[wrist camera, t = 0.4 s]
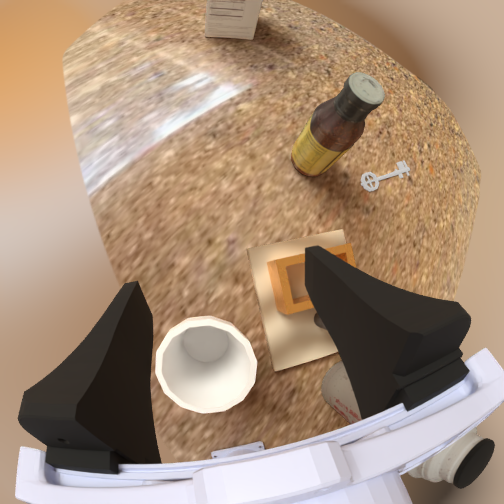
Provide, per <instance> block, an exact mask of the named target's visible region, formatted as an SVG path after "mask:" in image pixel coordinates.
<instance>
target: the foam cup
mask: <svg viewBox="0 0 504 504" xmlns="http://www.w3.org/2000/svg"><path fill="white" fill-rule="evenodd" d="M256 369H257V360H256V358H255V355H254V352H253V350H252V347H251V344H250V342H249V340H248V339H247V337H246V336H245V335H243V334H242V333H241V332H240V331H239V330H238V329H237V328H236V327H235V326H234V325H233V324H232V323H231V322H228V321H225V320H222V319H219V318H216V317H213V316H202V317H192V318H188V319H186V320H184V321H183V322H181V323H180V324H178V325H176V326H175V327H173V328H171V329H170V331H169V332H168V333H167V335H166V337H165V338H164V340H163V342H162V343H161V345H160V347H159V348H158V350H157V352H156V372H155V373H156V375H157V378H158V380H159V382H160V384H161V387H162V389H163V391H164V393H165V394H166V395H168V396H169V397H170V398H171V399H172V400H173V401H175V402H176V403H177V404H178V405H179V406H181V407H183V408H186V409H189V410H192V411H196V412H199V413H212V412H221V411H226V410H227V409H229V408H231V407H232V406H234V405H236V404H238V403H239V402H241V401H243V400H244V398H245V397H246V395H247V394H248V392H249V391H250V389H251V388H252V386H253V385H254V383H255V377H256Z"/></svg>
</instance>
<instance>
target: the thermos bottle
mask: <svg viewBox="0 0 504 504" xmlns="http://www.w3.org/2000/svg"><path fill="white" fill-rule="evenodd" d="M322 395H323V397H324V399H325V400H326V402H327V403H328V404H329V405H331V406H332V407H333V408H334V409H335V410H336V411H337V412H338V413H339V414H340V415H341V416H342V417H343V418H345V419H346V420H347V421H348V422H349V423H350V424H354V423H356V422H359V421H361V420H362V418H361V415H360V411H359V408H358V404H357V401H356V398H355V395H354V392H353V389H352V386H351V383H350V380H349V378H348V375H347V372H346V370H345V367H344V364H343V362H342V361H341V362H338V363H337V364H335V365H334V366H333V367H331V368H330V369H329V371H328V372H327V373H326V375H325V377H324V379H323V382H322ZM494 446H495V444H494V442H493V440H490V439H488V438H486V439H483V438H482V437H481V436H479V435H477V428H476V427H475V428H473V429H472V430H471V431H469V432H468V433H467V434H465V435H464V436H463V437H461V438H460V439H458V440H457V441H456V442H454V443H453V444H451V445H450V446H448V447H447V448H445V449H444V450H442V451H441V452H439V453H438V454H436V455H435V456H433V457H432V458H430V459H428V460H427V461H425V462H423V463H422V464H420V465H418V466H417V467H415V468H413V469H411V470H410V471H408V472H407V473H408V474H409V475H410V476H412V477H414V478H421V477H423V478H424V479H426V480H429V481H431V482H438V481H441V480H443V479H445V480H446V481H448V482H449V483H453V484H454V485H455V486H456V487H458V488H460V489H461V488H464V487H466V486H468V485H470V484H471V483H472V482H473V481H474V480H475V479H476V478H477V477H478V476H479V475H480V474H481V473H482V471H483V470H484V468H485V467H486V465H487V464H488V462H489V461H490V458H491V456H492V454H493V451H494Z"/></svg>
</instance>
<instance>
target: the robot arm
mask: <svg viewBox="0 0 504 504" xmlns="http://www.w3.org/2000/svg"><path fill="white" fill-rule="evenodd" d="M305 287H306V290H307V292H308V295H309V297H310V300H311V302H312V304H313V306H314V308H315V310H316V311H317V313H318V315H319V317H320V319H321V320H322V322H323V324H324V326H325V327H326V329H327V331H328V333H329V334H330V336H331V338H332V340H333V342H334V344H335V346H336V348H337V350H338V352H339V355H340V357H341V359H342V362H343V364H344V367H345V370H346V372H347V375H348V378H349V380H350V383H351V386H352V389H353V392H354V395H355V398H356V401H357V404H358V408H359V411H360V415H361V418H362V420H361V421H359V422H356V423H354V424H351V425H348V426H346V427H343V428H340V429H337V430H334V431H331V432H328V433H325V434H322V435H319V436H316V437H313V438H309V439H306V440H302V441H299V442H295V443H291V444H288V445H284V446H280V447H275V448H271V449H267V450H265V448H264V445H263V442H262V441H258V442H254V443H250V444H246V445H241V446H237V447H232V448H227V449H222V450H217V451H213V452H212V453H211V455H212V458H213V459H210V460H202V461H192V462H181V463H168V464H162V463H161V458H160V454H159V450H158V445H157V440H156V434H155V428H154V421H153V412H152V403H151V390H150V377H151V361H152V348H153V316H152V313H151V311H150V309H149V306H148V304H147V302H146V300H145V297H144V295H143V292H142V290H141V288H140V285H139V283H138V281H135V282H130V283H125V284H124V285H123V287H122V288H121V289H120V291H119V292H118V294H117V295H116V297H115V298H114V299H113V301H112V302H111V304H110V305H109V307H108V308H107V310H106V311H105V313H104V314H103V316H102V317H101V318H100V320H99V321H98V322H97V324H96V325H95V326H94V328H93V329H92V330H91V332H90V333H89V334H88V335H87V337H86V338H85V339H84V340H83V342H81V344H80V345H79V346H78V347H77V348H76V349H75V350H74V351H73V352H72V353H71V354H70V355H69V356H68V357H67V358H66V359H65V360H64V361H63V362H62V363H61V364H60V365H59V366H58V367H57V368H56V369H55V370H53V371H52V372H51V373H50V374H49V375H47V376H46V377H45V378H43V379H42V380H41V381H39V382H38V383H37V384H35V385H34V386H32V387H31V388H30V389H28V390H26V391H25V392H24V395H23V399H22V402H21V407H20V411H19V415H18V421H19V423H20V425H21V426H22V427H23V428H24V429H25V430H26V431H27V432H28V433H30V434H31V435H33V436H34V437H35V438H37V439H38V440H39V441H41V442H42V443H44V444H45V445H47V451H46V452H45V451H42V450H39V449H34V448H28V447H24V446H21V447H20V453H19V461H18V468H17V479H16V493H15V497H16V498H17V499H19V500H21V501H23V502H26V503H28V504H412V501H411V499H410V497H409V495H408V492H407V490H406V488H405V486H404V483H403V482H402V479H401V477H400V475H402V474H404V473H406V472H408V471H410V470H411V469H413V468H415V467H417V466H418V465H420V464H422V463H423V462H425V461H427V460H428V459H430V458H432V457H433V456H435V455H436V454H438V453H439V452H441V451H442V450H444V449H445V448H447V447H448V446H450V445H451V444H453V443H454V442H456V441H457V440H458V439H460V438H461V437H463V436H464V435H465V434H467V433H468V432H469V431H471V430H472V429H473V428H475V427H476V426H477V425H478V424H480V423H481V422H482V421H484V420H485V419H486V418H487V417H488V416H489V415H490V414H491V413H492V412H493V411H494V410H496V409H497V408H498V407H499V405H501V404H502V403H503V402H504V370H503V369H502V367H501V366H500V365H499V363H498V362H497V361H496V359H495V358H494V357H493V355H492V354H491V353H490V352H489V350H488V349H487V348H483V349H482V350H480V351H479V352H478V353H476V354H474V355H473V356H471V357H470V358H469V359H468V360H466V361H465V363H464V362H463V361H462V359H461V357H462V355H463V353H462V352H461V350H460V349H459V346H460V345H461V343H462V341H463V339H464V338H465V336H466V334H467V332H468V330H469V328H470V324H471V317H470V315H469V314H468V313H467V312H466V311H465V310H464V309H463V308H462V307H461V305H460V304H459V303H458V302H454V301H448V300H441V299H436V298H431V297H427V296H423V295H419V294H416V293H412V292H409V291H406V290H403V289H400V288H397V287H395V286H392V285H390V284H388V283H385V282H383V281H381V280H378V279H376V278H374V277H372V276H370V275H368V274H366V273H364V272H362V271H361V270H359V269H357V268H355V267H354V266H352V265H350V264H348V263H347V262H345V261H343V260H342V259H340V258H339V257H337V256H335V255H334V254H332V253H330V252H329V251H327V250H326V249H324V248H322V247H320V246H319V245H316V246H311V247H306V248H305ZM259 446H262V447H259ZM214 456H217V457H214Z"/></svg>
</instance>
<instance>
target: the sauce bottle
mask: <svg viewBox="0 0 504 504" xmlns="http://www.w3.org/2000/svg"><path fill="white" fill-rule="evenodd" d="M384 95H385V94H384V91H383V88H382V86H381V85H380V84H379V83H378V81H376V80H375V79H374V78H372V77H371V76H369V75H367V74H365V73H361V72H357V73H353V74H352V75H350V76H349V78H348V79H347V80H346V81H345V83H344V88H343V89H342V90H341V92H340V93H339V94H338V95H337V96H336V97H334V98H332V99H330V100H328V101H326V102H324V103H322V104H320V105H319V106H318V107H317V108H316V109H315V111H314V112H313V114H312V116H311V117H310V119H309V120H308V122H307V123H306V125H305V127H304V129H303V130H302V132H301V133H300V135H299V137H298V138H297V140H296V142H295V143H294V145H293V148H292V153H291V160H292V163H293V164H294V166H295V168H296V169H297V170H298V171H299V172H300V173H301V174H304V175H307V176H319V175H321V174H322V173H324V172H326V171H327V170H328V169H329V168H330V167H331V166H332V165H333V164H334V163H335V162H336V161H338V160H339V159H340V158H341V157H342V156H343V155H344V154H345V153H346V152H347V151H348V150H349V149H350V148H351V147H352V146H353V145H354V143H355V142H356V141H357V140H358V139H359V138H360V137H361V135H362V134H363V131H364V127H365V120H364V119H365V118H366V117H367V115H368V114H369V113H370V112H371V111H372V110H374V109H376V108H377V107H378V106H380V104H381V103H382V102H383V100H384Z"/></svg>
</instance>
